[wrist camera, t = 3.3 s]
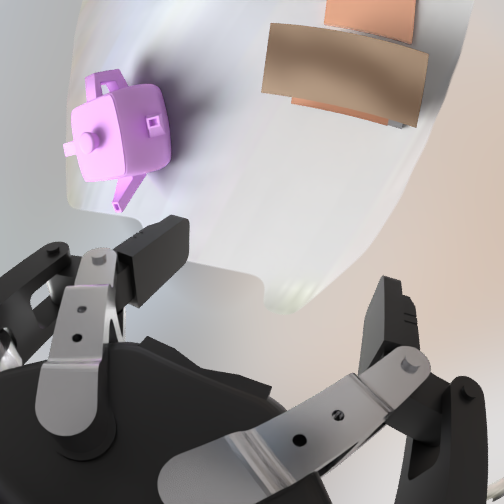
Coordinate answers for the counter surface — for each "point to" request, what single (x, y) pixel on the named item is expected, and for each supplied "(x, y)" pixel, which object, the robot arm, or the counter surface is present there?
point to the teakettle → (120, 133)
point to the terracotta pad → (373, 17)
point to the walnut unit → (345, 73)
